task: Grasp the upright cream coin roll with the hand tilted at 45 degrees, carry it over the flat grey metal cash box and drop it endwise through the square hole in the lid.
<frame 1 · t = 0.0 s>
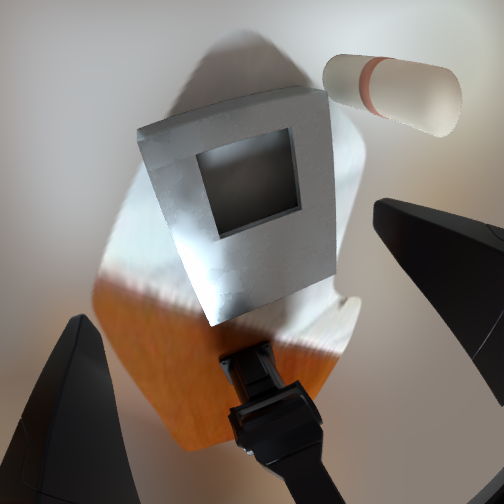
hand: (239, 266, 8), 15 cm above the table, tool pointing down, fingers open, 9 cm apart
coin roll: (344, 79, 21), on the table
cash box: (243, 199, 24), on the table
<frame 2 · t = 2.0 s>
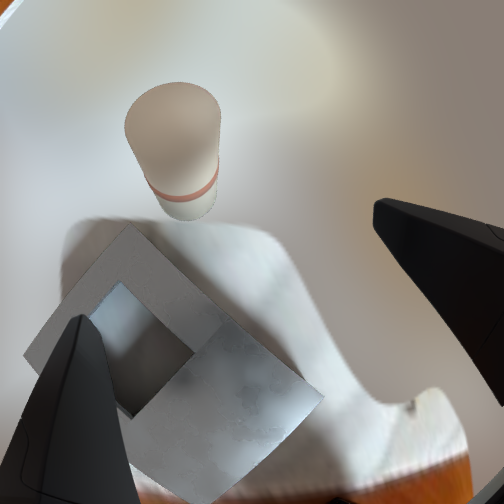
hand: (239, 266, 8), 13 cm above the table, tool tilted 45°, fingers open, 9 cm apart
coin roll: (187, 192, 22), on the table
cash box: (169, 372, 20), on the table
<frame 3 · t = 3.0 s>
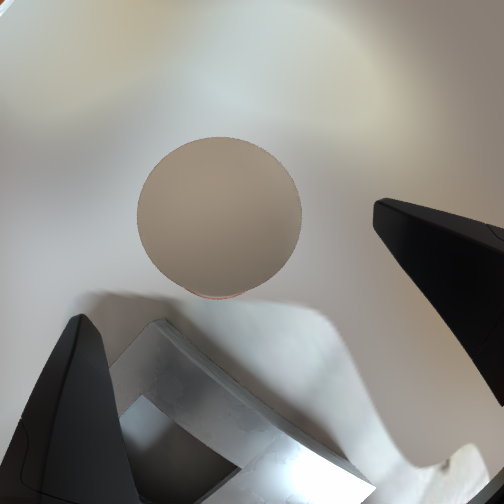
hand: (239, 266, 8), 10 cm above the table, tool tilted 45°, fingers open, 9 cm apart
coin roll: (216, 261, 18), on the table
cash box: (203, 466, 15), on the table
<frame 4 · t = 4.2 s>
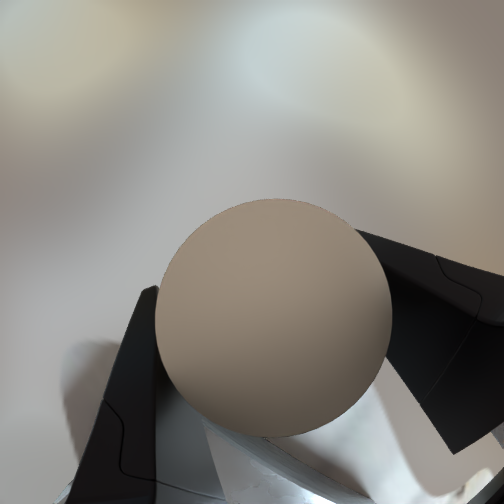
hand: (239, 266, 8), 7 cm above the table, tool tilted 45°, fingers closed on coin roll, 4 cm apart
coin roll: (238, 307, 15), on the table, touching gripper
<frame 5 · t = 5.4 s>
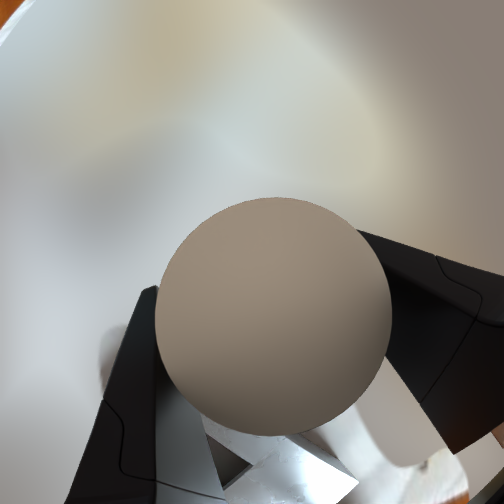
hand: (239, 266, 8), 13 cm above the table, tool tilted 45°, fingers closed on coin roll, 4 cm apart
coin roll: (238, 307, 15), point 6 cm above the table, touching gripper
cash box: (219, 464, 19), on the table
when the fingers open (12 cm above the table, at t = 6.7 s): coin roll drops 5 cm, resting in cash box.
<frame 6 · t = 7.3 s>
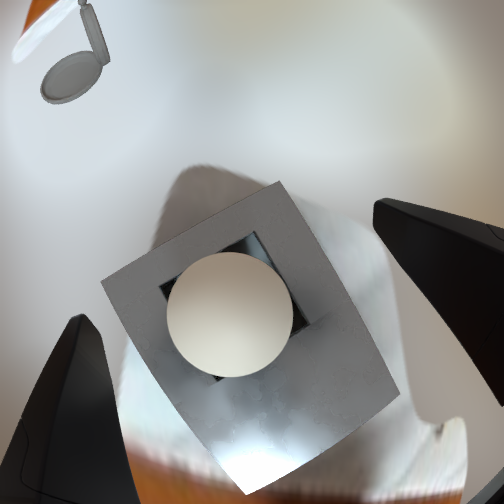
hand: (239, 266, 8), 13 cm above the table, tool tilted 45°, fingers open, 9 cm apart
coin roll: (229, 306, 20), resting in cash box
pocket watch: (84, 76, 22), on the table
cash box: (254, 342, 20), on the table
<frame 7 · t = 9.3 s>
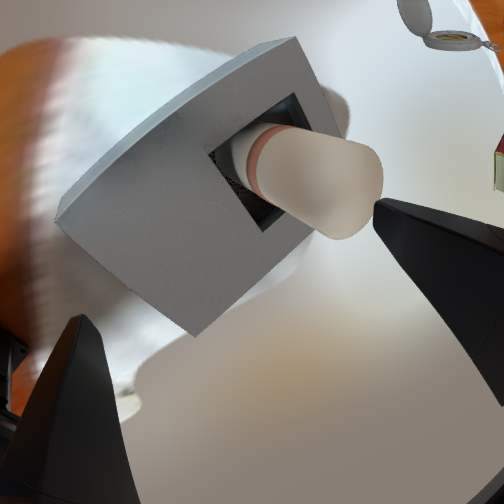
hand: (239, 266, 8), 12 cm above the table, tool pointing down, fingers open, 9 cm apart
coin roll: (244, 150, 20), resting in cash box
pocket watch: (411, 18, 21), on the table
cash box: (212, 178, 20), on the table
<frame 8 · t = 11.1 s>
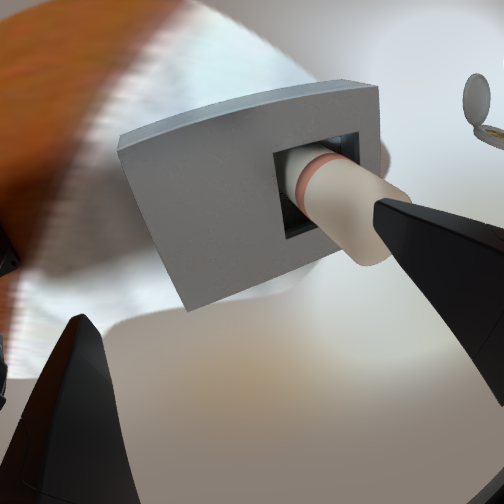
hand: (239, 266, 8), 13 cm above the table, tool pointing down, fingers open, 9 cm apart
coin roll: (293, 163, 22), resting in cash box
pocket watch: (470, 106, 25), on the table
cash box: (257, 177, 21), on the table
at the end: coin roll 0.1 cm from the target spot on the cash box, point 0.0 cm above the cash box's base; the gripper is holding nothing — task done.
